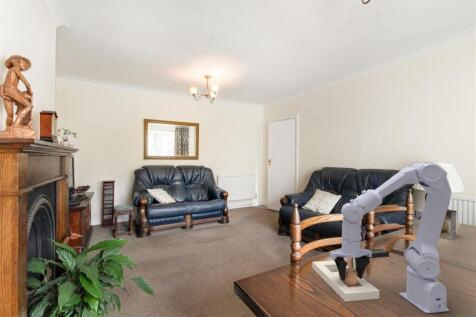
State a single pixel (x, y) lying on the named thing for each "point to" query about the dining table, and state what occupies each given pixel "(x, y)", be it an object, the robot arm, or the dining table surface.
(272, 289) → the dining table surface
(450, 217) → the coffee box
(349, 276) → the peg terracotta
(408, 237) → the arch
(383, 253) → the multiport hub
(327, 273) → the white flat block
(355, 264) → the peg sage
